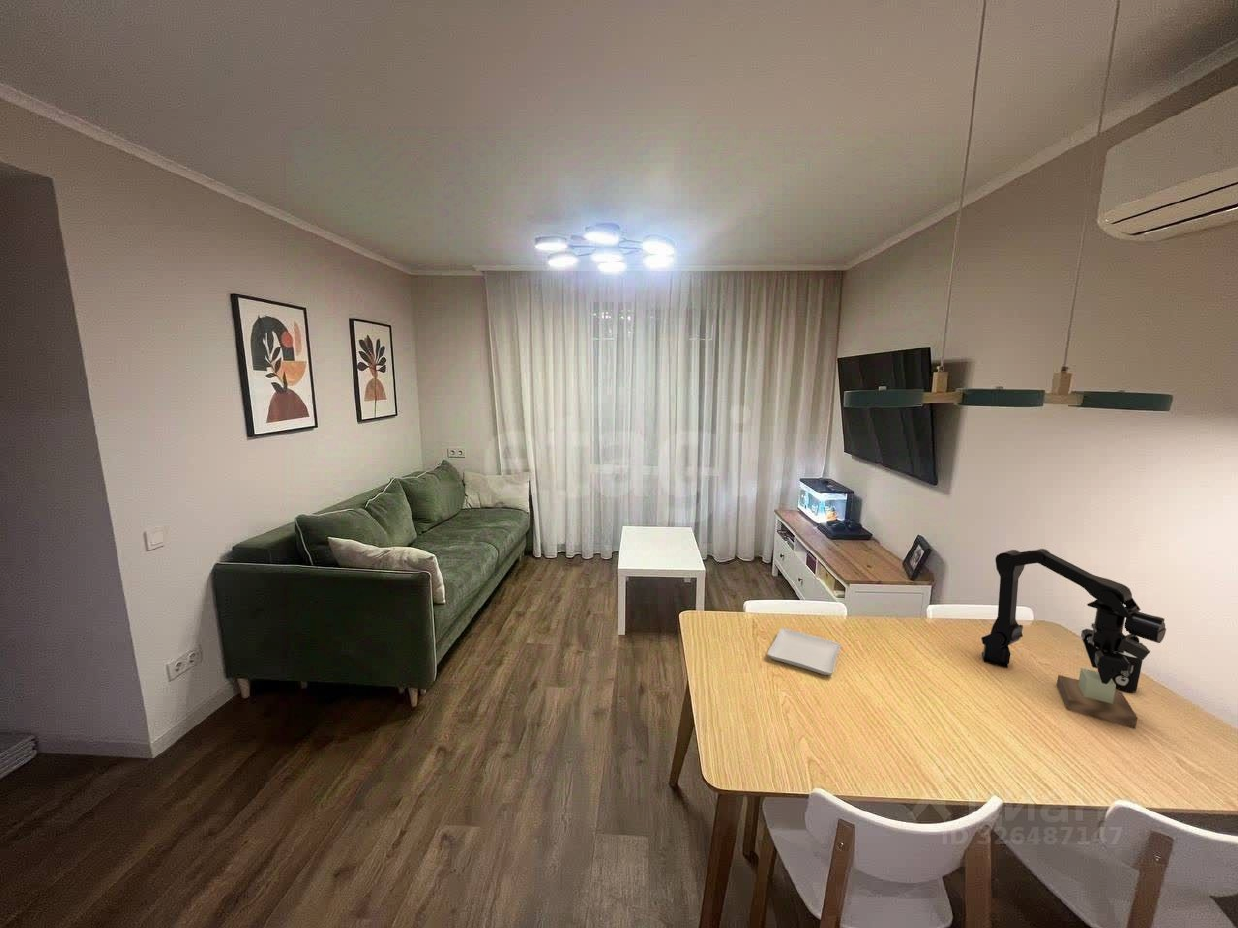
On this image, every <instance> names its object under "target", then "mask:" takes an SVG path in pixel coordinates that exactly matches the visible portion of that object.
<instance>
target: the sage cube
mask: <svg viewBox="0 0 1238 928" xmlns="http://www.w3.org/2000/svg"><path fill="white" fill-rule="evenodd" d="M1078 680H1079V683H1078V687H1079V688H1080V690H1081V692H1082V694H1083V696H1084V697H1087V698H1091V699H1095V700H1099V701H1103V702H1107V703H1111V704H1113V699H1114V694H1115V689H1116V684H1115V683H1114V681H1113V680H1112V678H1111V680H1110V681H1109V682H1108V684H1103V683H1102V682H1101V679H1100V676H1099V673H1098V670H1097V671H1096V670H1092V669H1089V668H1088V669H1087V668H1082V667H1080V673H1079V678H1078Z"/></svg>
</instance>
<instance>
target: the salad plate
mask: <svg viewBox="0 0 1238 928" xmlns="http://www.w3.org/2000/svg"><path fill="white" fill-rule="evenodd" d="M841 646H842V645H841V643H840V642H837V641H833V640H830V639H826V638H823V637H819V636H815V635H812V634H810V633H809V634H808V633H804V632H801V631H797V630H792V629H789V628H787V627H780V629H779V630H778V633H777V635H776V636H775V639H774V640H773V642H772V644H771V645H770V647H769V648H768V650H767V653H766V654H767V656H768V657H769V658H771V659H773V660H775V661H778V662H780V663H781V662H782V663H785V664H789V665H791V666H796V667H797V668H802V669H805V670H808V671H812V672H815V673H817V674H821V675H826V676H830V675H833V674H834V671H835V667H836V664H837V658H838V655H839V652H840V649H841Z"/></svg>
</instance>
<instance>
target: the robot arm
mask: <svg viewBox="0 0 1238 928" xmlns="http://www.w3.org/2000/svg"><path fill="white" fill-rule="evenodd" d="M1032 564H1039V565H1041V566H1043V567H1045V568H1047V570H1050V571H1051V572H1054V573H1056V574H1058V575H1059V576H1061V577H1063V578H1065V579H1067V580H1069V581H1071V582H1073V583H1074V584H1077V585H1078V586H1080V587H1081V588H1083V589H1084V590H1085V591H1086V592H1087V593H1088V594H1089V595H1090V596H1091V597H1093V598H1094V599H1095V600H1094V601H1091V602H1089V603H1087V606H1088V607H1090V608H1093V609H1095V610H1096V612H1095V617H1094V622H1093V623H1092V622H1091V625H1090V626H1091V628H1092V629H1089V628H1085V629H1082V630H1081V635H1080V637H1081V640H1082V643H1083V645H1084V647H1085V651H1086V654H1087V656H1088V658H1089V662H1090V664H1091V667H1092V668H1095V669H1096V670H1097V672H1098V673H1099V676H1100V679H1101V682H1102V683H1103V684H1108V682H1109V681H1110V680H1111V678H1112V677H1113V676H1114V675H1115V673H1116V672H1118V671H1129V670H1130V663H1129V662H1128V661H1127V659H1126V658H1125V657H1124V656H1123V655H1120V654H1116V653H1115V651H1117V652H1119V653H1124V651H1125V652H1127V653H1129V654H1131V655H1133V656H1135V657H1137V658H1138V659H1140V660H1142V661H1144V660H1145V659H1146V658H1147V657H1148V655H1150V653H1151V651H1150V649H1149V648H1148V647H1147V646H1146V645H1144V644H1143V643H1142V642H1140V638H1142V639H1144V640H1146V641H1147V640H1148V641H1151V642H1154V643H1156V644H1161V642H1162V641H1163V640H1164V638H1165V635H1166V631H1167V628H1166V623H1165V618H1164V617H1161V616H1156V615H1151V614H1148V613H1144V612H1141V608H1140V606H1139V605H1138V604H1137V602H1136V601H1135V599H1134V598H1133V595H1132V594H1133V593H1132V591H1131V589H1130V588H1129V587H1128V586H1127V585H1125V584H1123V583H1120V582H1118V581H1116V580H1112V579H1109V578H1107V577H1106V578H1105V577H1101V576H1098V575H1096V574H1095V575H1094V574H1092V573H1090V572H1089V571H1087V570H1084V569H1083V568H1080V567H1079V566H1077V565H1074V564H1073V563H1072V562H1069V561H1067V560H1065V559H1063V558H1062V557H1059V556H1057V555H1055V554H1053V553H1051V552H1050V551H1049V550H1047V549H1045V548H1039V549H1036V550H1035V549H1034V550H1026V551H1025V550H1024V551H1020V550H1017V549H1011V550H1007V551H1004V552H1000V553H998V554H997V555H996V556H995V567H996V570H997V571H996V572H998V575H999V577H1000V578H999V579H1000V581H999V591H998V593H999V594H998V608H997V610H998V611H997V617H996V619H995V621H994V622H993V624H992V627H991V631H990V633H988V634H986V635H984V636H982V637H981V643H982V645H983V650H982V651H981V655H982V660H983V662H984V663H987V664H991V665H996V666H998V667H999V666H1000V667H1003V668H1008V667H1009V666H1008V665H1009V664H1010V660H1011V655H1012V654H1011V650H1010V647H1009V646H1010V645H1012V644H1014V643H1016V642H1018V641H1019V640H1020V639H1021V638H1023V632H1022V631H1023V629H1024V625H1022V624H1019V623H1018V622H1017V618H1016V616H1017V605H1018V603H1017V602H1018V600H1017V599H1018V592H1019V591H1018V589H1019V578H1020V577H1021V575H1022V574H1023V572H1024V569H1025V567H1026V565H1032ZM1124 629H1125V631H1126V632H1128V634H1126V635H1125V634H1124V633H1123V630H1124Z"/></svg>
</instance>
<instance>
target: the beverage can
mask: <svg viewBox="0 0 1238 928" xmlns="http://www.w3.org/2000/svg"><path fill="white" fill-rule="evenodd" d="M1115 653H1116V654H1120V655H1123V656H1124V657H1125V658H1126V659H1127V661H1128V662H1129V663H1130V670H1129V671H1118V672H1116V673H1115V675H1114V676H1113V677H1112V680H1113V681H1114V683H1115V684H1116V688H1115V689H1116V690H1120V691H1121V692H1122V691H1123V692H1125V693H1126V692H1127V693H1133V692H1135V691H1137V689H1138V686H1139V680H1140V676H1141V671H1142V670H1141V669H1142V665H1143V660H1140V659H1138V658H1137V657H1135V656H1133V655H1131V654H1129V653H1127V652H1125V651H1124V653H1119V652H1117V651H1115Z"/></svg>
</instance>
